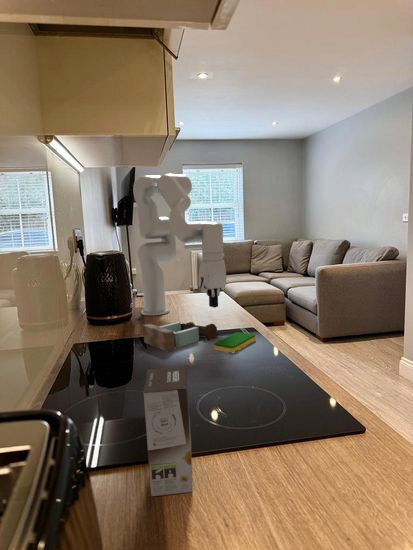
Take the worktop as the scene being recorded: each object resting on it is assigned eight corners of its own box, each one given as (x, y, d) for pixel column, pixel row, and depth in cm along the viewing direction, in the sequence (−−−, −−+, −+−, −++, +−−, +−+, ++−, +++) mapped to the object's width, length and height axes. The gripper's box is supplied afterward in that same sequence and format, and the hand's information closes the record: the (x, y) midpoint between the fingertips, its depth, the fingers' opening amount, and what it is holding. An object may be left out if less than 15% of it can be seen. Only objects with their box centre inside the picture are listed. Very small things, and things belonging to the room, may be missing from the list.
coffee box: (194, 492, 55) (187, 388, 53) (150, 497, 55) (142, 392, 52) (191, 454, 64) (186, 364, 62) (153, 458, 64) (146, 368, 61)
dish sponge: (214, 351, 117) (213, 343, 116) (237, 338, 128) (237, 331, 127) (233, 354, 112) (232, 346, 112) (256, 341, 123) (255, 334, 123)
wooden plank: (144, 342, 127) (142, 325, 126) (150, 340, 129) (149, 323, 128) (168, 351, 116) (166, 333, 116) (174, 349, 118) (173, 331, 117)
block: (156, 340, 129) (155, 327, 128) (178, 334, 135) (177, 321, 134) (176, 347, 120) (175, 334, 119) (199, 340, 126) (198, 327, 125)
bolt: (182, 337, 137) (214, 342, 127) (173, 333, 134) (206, 338, 124) (187, 321, 139) (219, 326, 129) (178, 317, 135) (210, 321, 125)
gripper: (221, 254, 143) (221, 301, 146) (189, 258, 133) (191, 308, 137) (234, 256, 137) (235, 304, 140) (203, 260, 128) (204, 312, 131)
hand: (213, 306), depth 138 cm, fingers closed
